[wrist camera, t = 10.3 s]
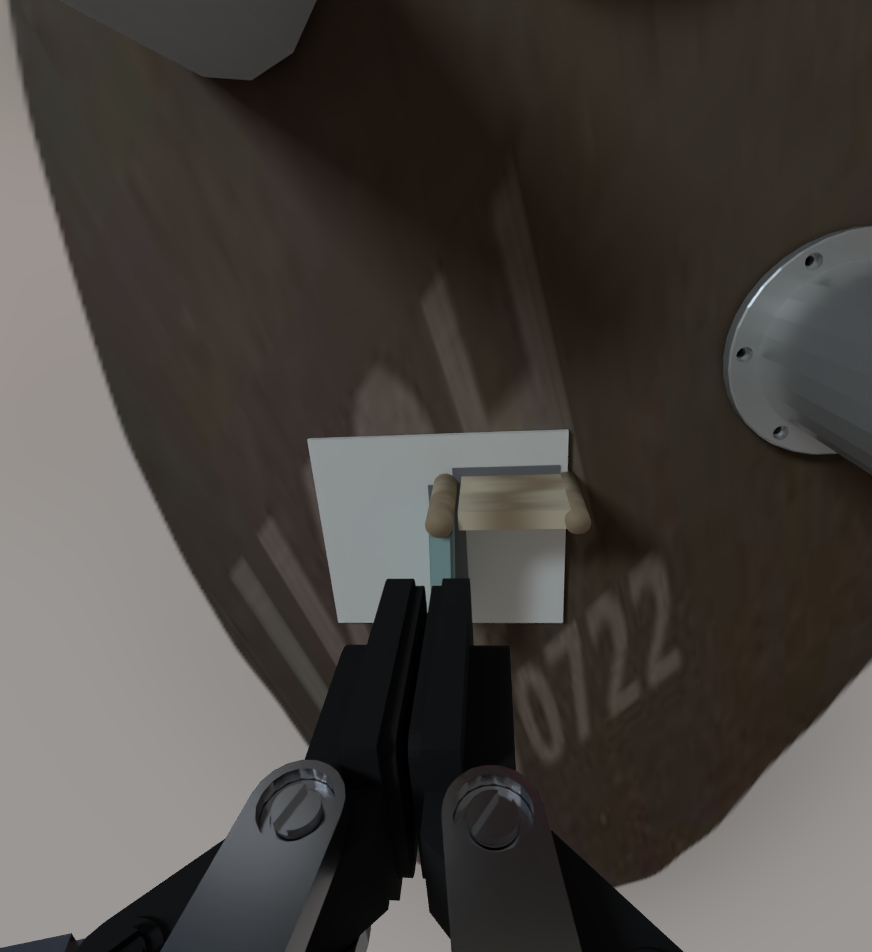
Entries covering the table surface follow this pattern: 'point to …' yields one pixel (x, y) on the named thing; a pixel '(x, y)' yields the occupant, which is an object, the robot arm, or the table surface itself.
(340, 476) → the card
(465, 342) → the table surface
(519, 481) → the fence fixed
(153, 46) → the jar
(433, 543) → the fence gate
